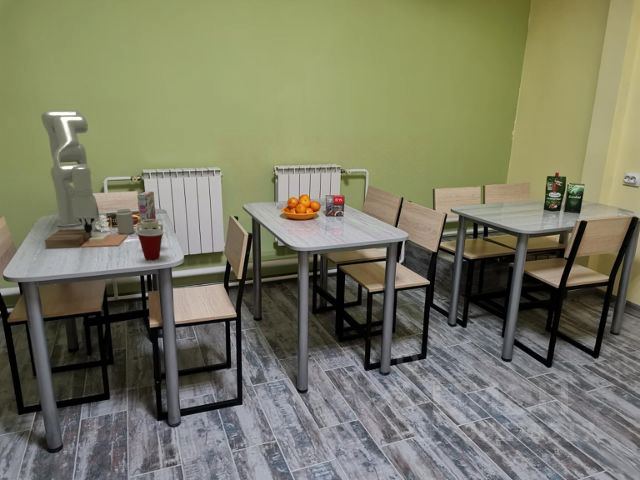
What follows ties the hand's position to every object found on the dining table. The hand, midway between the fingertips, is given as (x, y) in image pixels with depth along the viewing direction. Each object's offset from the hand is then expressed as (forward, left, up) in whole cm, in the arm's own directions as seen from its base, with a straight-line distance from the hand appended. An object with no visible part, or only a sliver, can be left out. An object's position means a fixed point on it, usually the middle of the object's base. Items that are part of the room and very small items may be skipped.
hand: (88, 232), depth 224 cm
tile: (+1, +4, -3) cm, 5 cm away
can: (-14, +13, -5) cm, 20 cm away
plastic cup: (+29, +34, -5) cm, 45 cm away
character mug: (+15, +31, -5) cm, 35 cm away
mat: (0, +7, -5) cm, 8 cm away
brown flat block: (0, -9, -5) cm, 10 cm away
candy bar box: (-35, +20, -5) cm, 40 cm away
